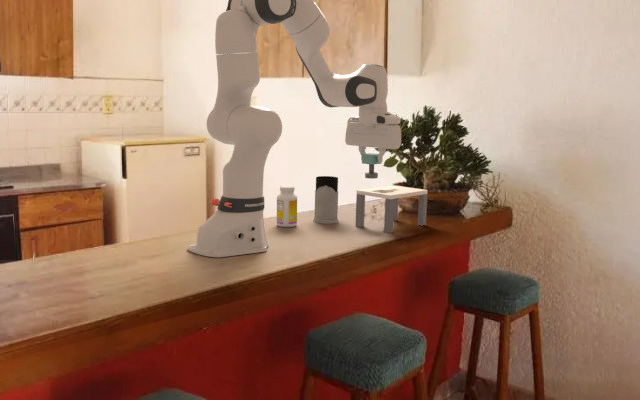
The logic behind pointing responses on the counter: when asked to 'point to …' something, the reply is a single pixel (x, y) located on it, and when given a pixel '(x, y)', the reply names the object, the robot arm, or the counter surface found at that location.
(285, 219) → the supplement bottle
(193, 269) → the counter surface
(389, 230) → the keyhole bracket
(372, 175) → the keyhole peg
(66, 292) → the counter surface
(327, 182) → the glass holder
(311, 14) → the robot arm
